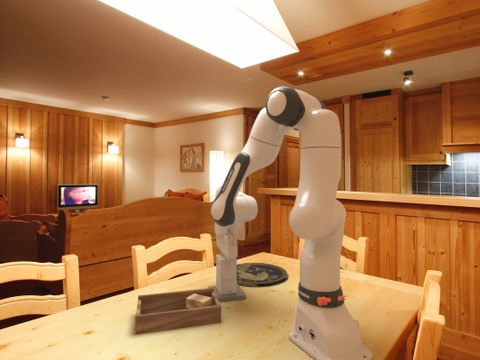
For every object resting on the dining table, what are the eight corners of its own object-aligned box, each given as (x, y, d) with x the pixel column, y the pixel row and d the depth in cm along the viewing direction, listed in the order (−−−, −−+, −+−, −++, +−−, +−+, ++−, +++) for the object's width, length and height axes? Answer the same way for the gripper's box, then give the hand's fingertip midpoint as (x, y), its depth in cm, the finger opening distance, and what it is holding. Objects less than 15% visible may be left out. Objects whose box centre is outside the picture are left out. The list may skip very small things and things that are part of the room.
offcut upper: (211, 306, 95) (211, 297, 95) (203, 312, 91) (203, 302, 91) (194, 302, 98) (194, 293, 98) (186, 307, 95) (186, 298, 95)
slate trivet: (245, 298, 107) (245, 294, 107) (213, 302, 104) (213, 298, 104) (237, 287, 119) (237, 283, 119) (208, 290, 116) (208, 286, 116)
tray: (221, 322, 90) (221, 302, 90) (135, 334, 83) (135, 313, 83) (213, 304, 102) (213, 287, 102) (138, 313, 96) (138, 295, 95)
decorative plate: (241, 259, 154) (296, 267, 140) (241, 263, 154) (296, 271, 140) (209, 277, 127) (274, 288, 114) (209, 281, 127) (274, 293, 114)
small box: (236, 293, 109) (237, 258, 108) (220, 295, 107) (220, 260, 107) (231, 285, 116) (231, 253, 116) (215, 287, 115) (215, 254, 114)
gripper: (242, 232, 102) (242, 271, 102) (228, 223, 122) (228, 256, 122) (224, 233, 100) (224, 273, 101) (213, 224, 120) (213, 257, 120)
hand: (226, 264), depth 111 cm, fingers open, 8 cm apart
